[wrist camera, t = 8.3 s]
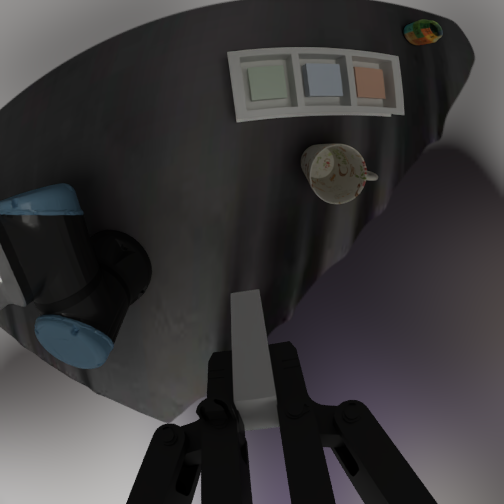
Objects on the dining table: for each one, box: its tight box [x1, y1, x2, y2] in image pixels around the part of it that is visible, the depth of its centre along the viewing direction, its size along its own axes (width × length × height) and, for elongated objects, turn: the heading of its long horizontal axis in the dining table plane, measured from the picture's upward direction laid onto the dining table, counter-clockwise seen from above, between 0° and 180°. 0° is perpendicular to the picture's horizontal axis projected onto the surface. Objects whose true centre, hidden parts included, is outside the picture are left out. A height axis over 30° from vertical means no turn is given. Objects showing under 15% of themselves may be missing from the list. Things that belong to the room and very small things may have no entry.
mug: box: [301, 144, 378, 204], centre depth 38 cm, size 8×13×10 cm, turn 88°
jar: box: [404, 19, 443, 45], centre depth 27 cm, size 5×5×8 cm
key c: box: [353, 67, 386, 99], centre depth 34 cm, size 5×5×2 cm
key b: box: [302, 63, 343, 97], centre depth 33 cm, size 5×5×2 cm
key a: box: [247, 65, 287, 101], centre depth 34 cm, size 5×5×2 cm
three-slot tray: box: [227, 47, 404, 122], centre depth 34 cm, size 26×11×6 cm, turn 97°
